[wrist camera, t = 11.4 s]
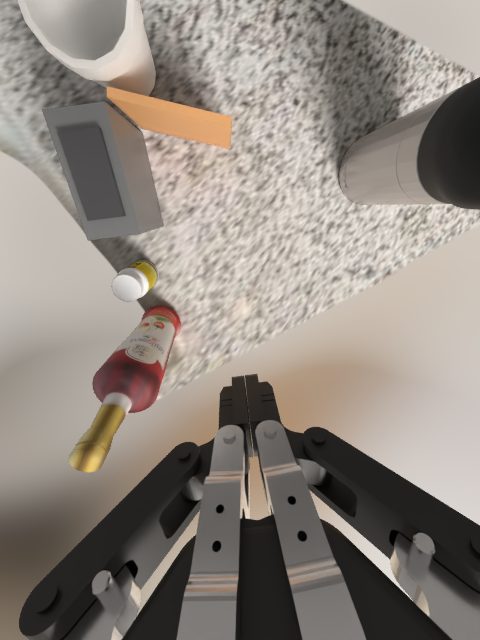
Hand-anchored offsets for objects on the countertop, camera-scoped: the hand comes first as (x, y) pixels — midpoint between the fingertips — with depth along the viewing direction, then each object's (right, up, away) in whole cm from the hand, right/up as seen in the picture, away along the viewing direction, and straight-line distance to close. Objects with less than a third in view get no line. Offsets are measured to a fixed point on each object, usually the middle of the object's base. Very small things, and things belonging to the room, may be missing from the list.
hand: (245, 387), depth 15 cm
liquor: (-14, +4, +32) cm, 35 cm away
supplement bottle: (-16, +12, +28) cm, 35 cm away
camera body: (-16, +24, +23) cm, 36 cm away
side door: (-8, +29, +20) cm, 36 cm away
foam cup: (-14, +36, +17) cm, 42 cm away
